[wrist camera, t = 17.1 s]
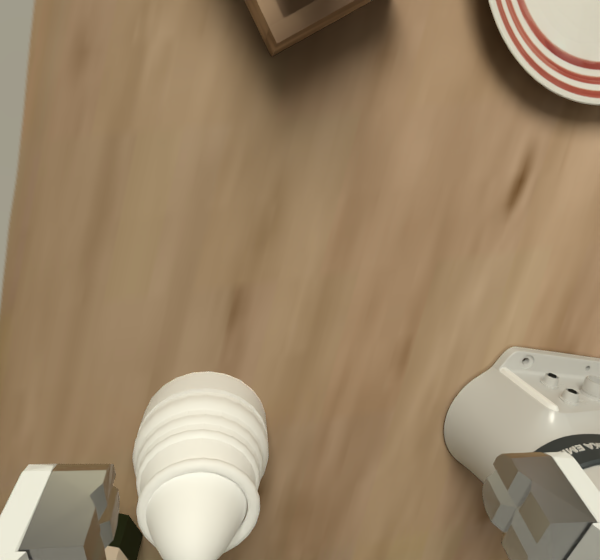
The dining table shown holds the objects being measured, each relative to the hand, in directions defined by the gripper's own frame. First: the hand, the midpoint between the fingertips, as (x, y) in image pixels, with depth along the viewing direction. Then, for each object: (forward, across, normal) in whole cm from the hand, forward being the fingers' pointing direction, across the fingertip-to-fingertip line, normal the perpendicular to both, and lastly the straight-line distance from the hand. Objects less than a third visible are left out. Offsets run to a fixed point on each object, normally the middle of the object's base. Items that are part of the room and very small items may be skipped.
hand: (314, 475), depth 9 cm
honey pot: (+28, +4, +30) cm, 41 cm away
